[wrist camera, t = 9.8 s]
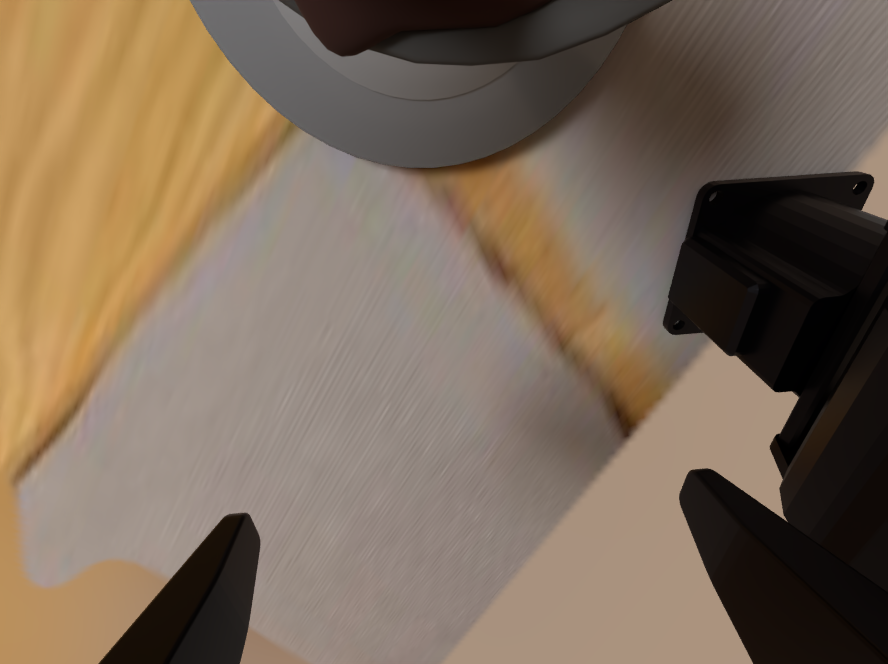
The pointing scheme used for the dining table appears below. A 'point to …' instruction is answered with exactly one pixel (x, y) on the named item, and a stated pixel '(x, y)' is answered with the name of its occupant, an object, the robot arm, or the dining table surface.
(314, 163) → the dining table surface
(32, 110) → the dining table surface
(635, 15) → the sundae
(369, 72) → the slate plate
